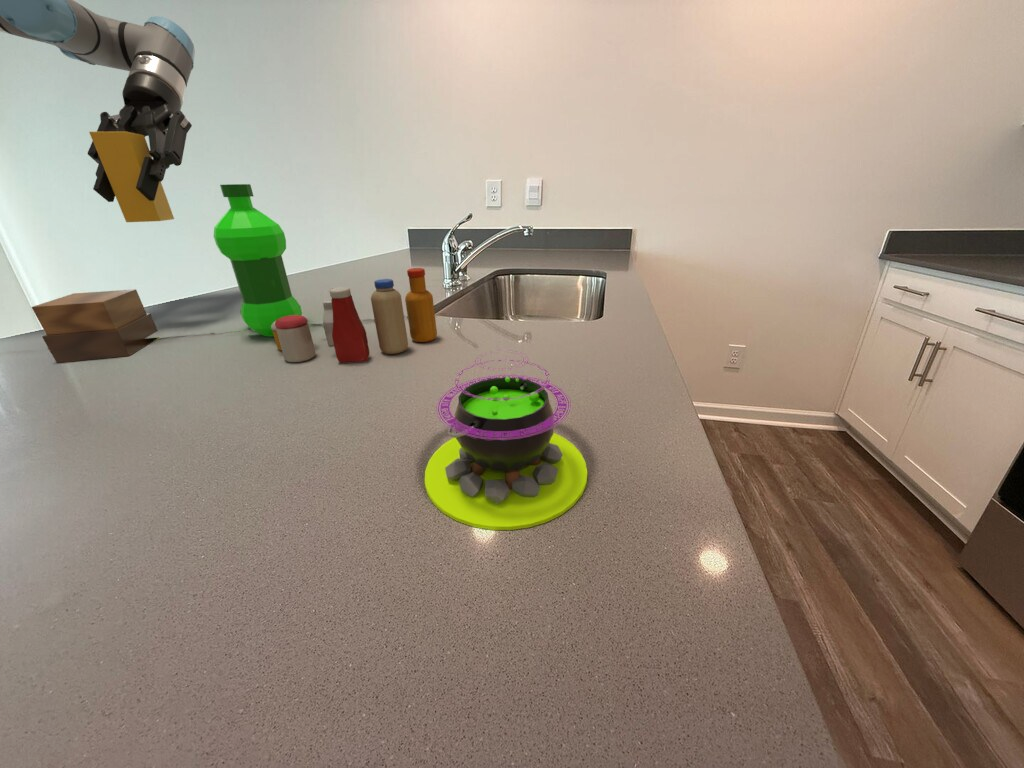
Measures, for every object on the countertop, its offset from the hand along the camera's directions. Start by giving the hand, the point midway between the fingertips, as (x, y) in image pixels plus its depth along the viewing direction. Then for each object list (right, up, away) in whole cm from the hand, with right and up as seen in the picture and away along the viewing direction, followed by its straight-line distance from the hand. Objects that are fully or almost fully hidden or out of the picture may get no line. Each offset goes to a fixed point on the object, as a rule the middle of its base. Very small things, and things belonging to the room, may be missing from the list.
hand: (124, 194), depth 66 cm
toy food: (+36, -25, +2) cm, 44 cm away
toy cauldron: (+62, -39, -28) cm, 78 cm away
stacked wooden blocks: (-7, -25, +5) cm, 26 cm away
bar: (0, -2, +5) cm, 6 cm away
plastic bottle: (+18, -21, +11) cm, 30 cm away
